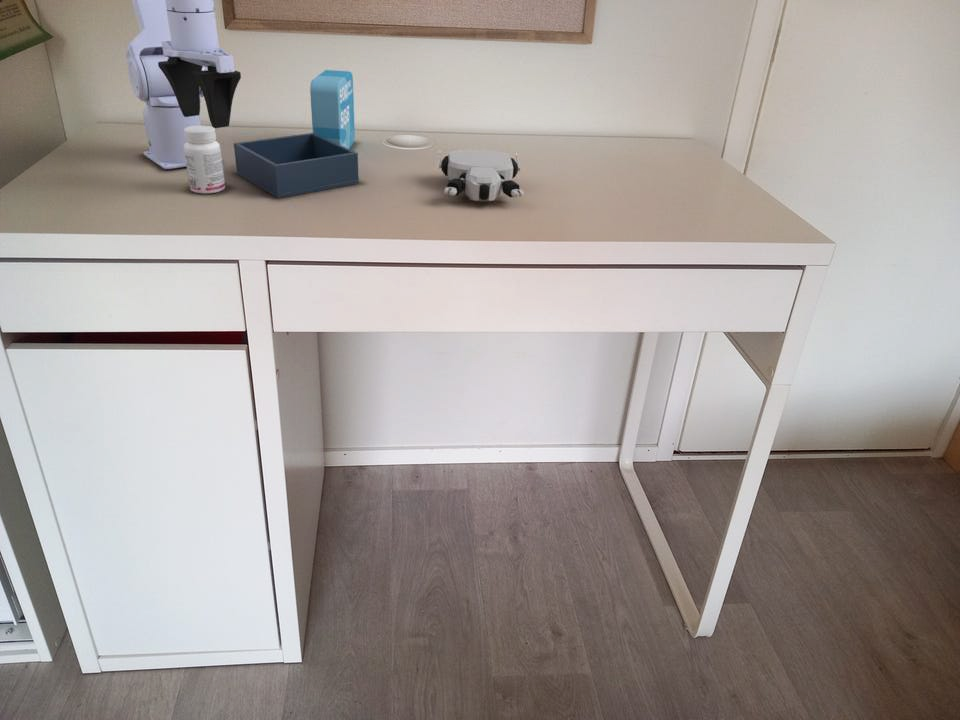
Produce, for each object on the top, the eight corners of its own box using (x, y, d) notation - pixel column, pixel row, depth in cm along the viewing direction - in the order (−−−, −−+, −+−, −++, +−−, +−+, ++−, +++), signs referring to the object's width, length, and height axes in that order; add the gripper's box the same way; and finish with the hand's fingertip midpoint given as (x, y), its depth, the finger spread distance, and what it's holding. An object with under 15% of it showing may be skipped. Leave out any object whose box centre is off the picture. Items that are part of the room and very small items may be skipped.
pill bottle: (228, 184, 106) (220, 124, 102) (222, 194, 102) (214, 133, 98) (194, 183, 106) (185, 124, 102) (186, 194, 102) (177, 132, 97)
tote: (236, 173, 111) (233, 143, 108) (314, 161, 118) (313, 132, 116) (277, 198, 102) (274, 165, 100) (358, 183, 110) (357, 152, 108)
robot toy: (526, 214, 104) (515, 175, 117) (529, 184, 102) (517, 147, 114) (440, 212, 103) (438, 173, 116) (441, 181, 101) (438, 144, 113)
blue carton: (341, 160, 120) (338, 83, 113) (313, 158, 120) (309, 81, 114) (355, 141, 130) (353, 69, 124) (329, 139, 130) (326, 68, 124)
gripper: (132, 5, 94) (151, 114, 101) (190, 18, 85) (206, 136, 92) (184, 3, 98) (199, 108, 105) (244, 16, 90) (255, 128, 97)
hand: (205, 121), depth 99 cm, fingers open, 7 cm apart
